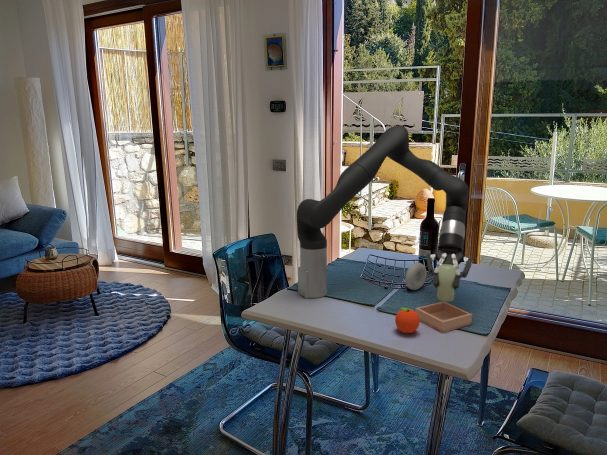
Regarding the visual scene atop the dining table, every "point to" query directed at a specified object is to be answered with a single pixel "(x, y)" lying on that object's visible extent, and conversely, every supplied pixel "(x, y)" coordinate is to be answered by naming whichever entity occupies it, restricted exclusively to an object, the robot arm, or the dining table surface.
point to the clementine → (407, 320)
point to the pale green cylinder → (446, 282)
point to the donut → (420, 278)
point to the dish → (443, 316)
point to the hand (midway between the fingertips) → (445, 287)
